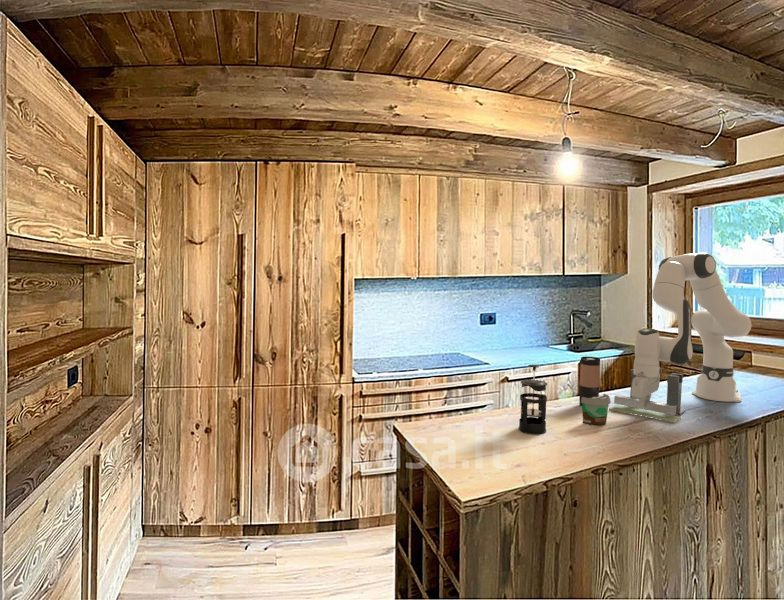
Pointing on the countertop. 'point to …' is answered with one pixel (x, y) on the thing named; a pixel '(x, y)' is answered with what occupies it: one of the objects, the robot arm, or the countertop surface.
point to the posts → (670, 390)
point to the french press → (532, 423)
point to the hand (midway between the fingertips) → (644, 405)
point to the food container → (595, 410)
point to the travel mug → (589, 377)
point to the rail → (649, 404)
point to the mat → (645, 413)
